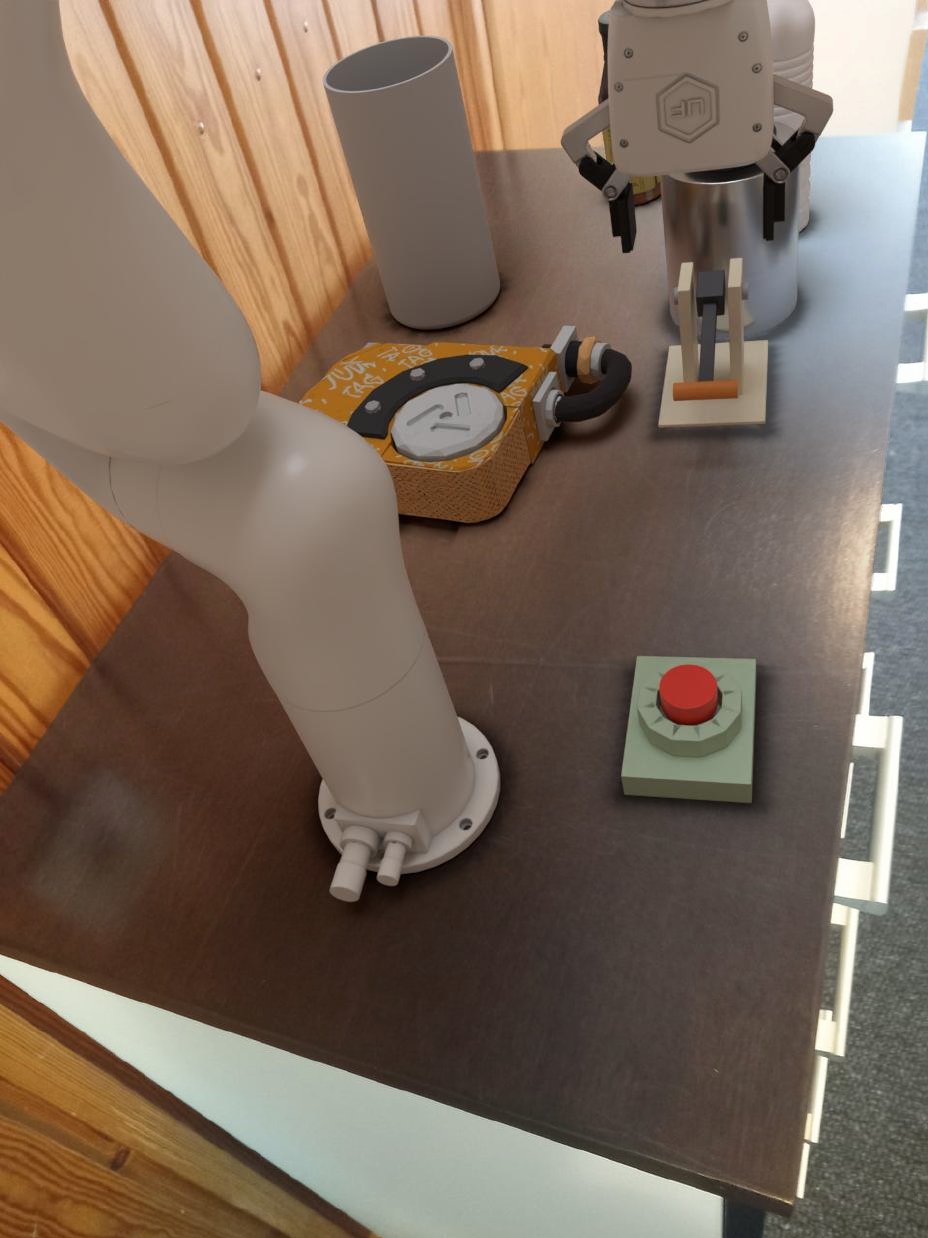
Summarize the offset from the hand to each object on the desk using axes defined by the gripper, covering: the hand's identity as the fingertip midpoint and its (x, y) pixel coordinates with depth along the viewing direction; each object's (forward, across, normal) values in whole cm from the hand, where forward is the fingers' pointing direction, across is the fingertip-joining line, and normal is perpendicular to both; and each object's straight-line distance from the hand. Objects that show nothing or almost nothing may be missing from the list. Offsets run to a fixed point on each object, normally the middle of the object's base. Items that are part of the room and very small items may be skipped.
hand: (698, 237), depth 73 cm
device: (+20, -23, +2) cm, 31 cm away
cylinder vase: (+20, -30, +28) cm, 46 cm away
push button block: (+20, 0, -29) cm, 35 cm away
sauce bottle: (+20, -11, +48) cm, 54 cm away
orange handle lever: (+13, 0, +5) cm, 14 cm away
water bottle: (+20, +5, +37) cm, 43 cm away
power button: (+17, +1, -29) cm, 33 cm away
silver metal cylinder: (+20, +1, +22) cm, 30 cm away
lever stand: (+20, 0, +9) cm, 22 cm away
